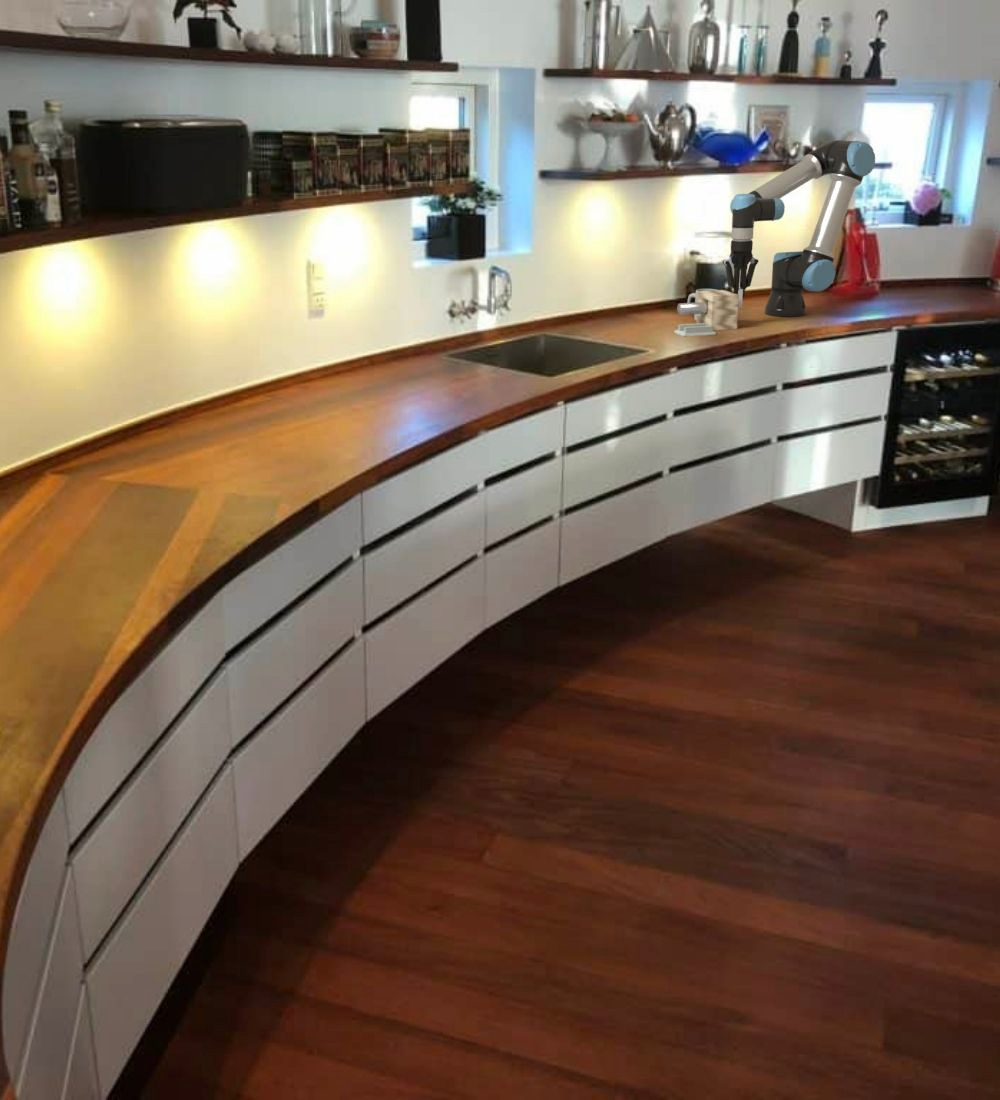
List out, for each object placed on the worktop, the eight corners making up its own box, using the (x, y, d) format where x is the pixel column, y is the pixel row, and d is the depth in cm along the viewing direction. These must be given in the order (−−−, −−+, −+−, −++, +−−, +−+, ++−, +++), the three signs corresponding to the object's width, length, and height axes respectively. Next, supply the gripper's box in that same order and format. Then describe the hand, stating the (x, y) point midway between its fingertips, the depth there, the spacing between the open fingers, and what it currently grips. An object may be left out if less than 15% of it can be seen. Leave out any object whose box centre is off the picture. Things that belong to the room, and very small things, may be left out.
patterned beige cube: (721, 323, 442) (723, 289, 438) (736, 328, 432) (738, 294, 427) (696, 324, 440) (698, 291, 436) (710, 330, 429) (712, 296, 425)
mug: (721, 319, 449) (723, 289, 446) (710, 323, 443) (712, 292, 439) (692, 316, 456) (693, 287, 452) (681, 319, 450) (683, 289, 446)
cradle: (705, 330, 428) (706, 322, 427) (715, 334, 421) (716, 326, 420) (674, 332, 425) (674, 324, 424) (683, 336, 418) (684, 328, 417)
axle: (733, 311, 438) (733, 299, 436) (738, 312, 434) (738, 301, 433) (676, 314, 432) (677, 302, 431) (681, 315, 428) (681, 304, 427)
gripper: (753, 237, 432) (750, 304, 440) (720, 239, 429) (717, 306, 437) (763, 240, 425) (759, 307, 434) (729, 241, 422) (726, 309, 430)
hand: (738, 307), depth 435 cm, fingers closed
